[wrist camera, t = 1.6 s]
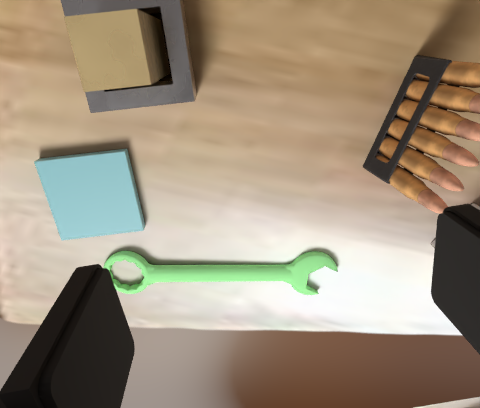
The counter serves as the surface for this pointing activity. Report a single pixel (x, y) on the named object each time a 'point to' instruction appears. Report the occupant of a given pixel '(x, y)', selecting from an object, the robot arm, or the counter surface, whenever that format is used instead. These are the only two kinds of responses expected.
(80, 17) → the brass peg
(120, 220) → the teal board
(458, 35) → the counter surface
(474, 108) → the ammunition clip
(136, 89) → the socket block
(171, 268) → the wrench
